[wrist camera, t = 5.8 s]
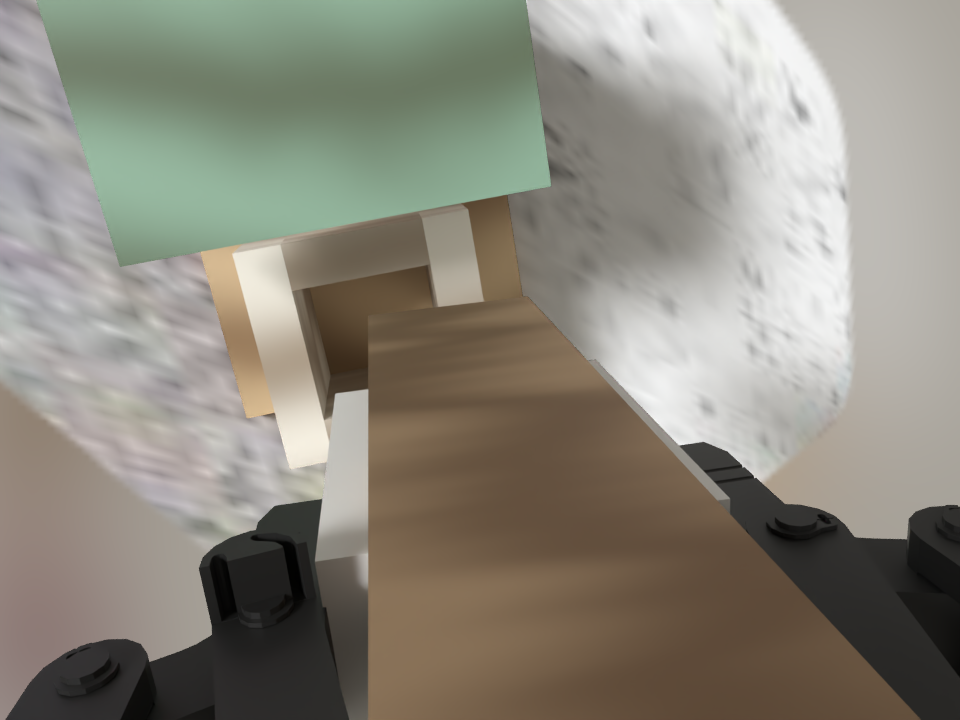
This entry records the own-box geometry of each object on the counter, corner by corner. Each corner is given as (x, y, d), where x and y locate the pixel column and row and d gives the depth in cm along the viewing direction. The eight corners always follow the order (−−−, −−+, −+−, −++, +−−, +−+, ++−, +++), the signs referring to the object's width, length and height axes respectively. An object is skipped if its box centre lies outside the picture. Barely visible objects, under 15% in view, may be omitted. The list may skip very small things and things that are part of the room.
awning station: (136, 3, 33) (-7, -72, 20) (465, -50, 34) (523, -151, 21) (252, 420, 38) (197, 564, 26) (529, 363, 40) (605, 474, 27)
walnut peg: (388, 463, 21) (433, 1232, 6) (368, 315, 19) (367, 848, 5) (538, 442, 21) (900, 1119, 7) (527, 296, 20) (939, 741, 6)
